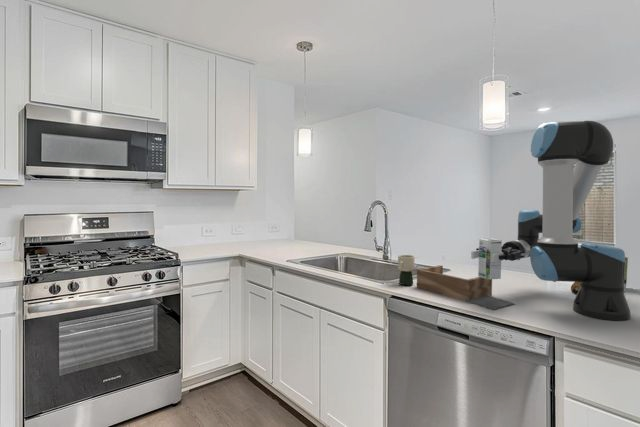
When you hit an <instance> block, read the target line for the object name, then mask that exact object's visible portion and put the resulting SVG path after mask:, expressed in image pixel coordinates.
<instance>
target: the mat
mask: <svg viewBox="0 0 640 427" xmlns="http://www.w3.org/2000/svg"><path fill="white" fill-rule="evenodd" d="M466 302H467V303H470V304H473V305H476V306H480V307H483V308H486V309H489V310H493V311H496V310H499V309H503V308H507V307H510V306H515V302H512V301H509V300H505V299H501V298H497V297H494V296H492V295H490V296H487V295H485V296H482V297H478V298H475V299H471V300H466V299H465V303H466Z"/></svg>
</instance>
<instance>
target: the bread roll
mask: <svg viewBox="0 0 640 427" xmlns="http://www.w3.org/2000/svg"><path fill="white" fill-rule="evenodd" d="M579 289H580V282H572V284H571V286H570V291H571V293H572V294H575V295H577V293H578V291H579Z"/></svg>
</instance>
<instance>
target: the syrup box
mask: <svg viewBox="0 0 640 427" xmlns="http://www.w3.org/2000/svg"><path fill="white" fill-rule="evenodd" d="M502 246H503V242H502V240H501V239H496V238H491V237H483V238H482V237H481V238H479V240H478V248H479V258H478V267H477V268H478V272H477V273H478V276H477V277H482V278H485V279H487V280H490V279H492V280H500V279H501V278H502V277H501V276H502V260H501V261H497V262H491V255H492V254H496V253H501V252H502Z"/></svg>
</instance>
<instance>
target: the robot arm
mask: <svg viewBox="0 0 640 427" xmlns="http://www.w3.org/2000/svg"><path fill="white" fill-rule="evenodd" d="M612 136H613V135H612V133H611V131H610V130H609V129H608V128H607V127H606V125H604V124H602V123H600V122H599V121H594V120H583V121H582V120H579V121H577V120H576V121H572V120H571V121H552V122H544V123H541V124H540V125H539V126H538V127H537V129H536V130H535V131H534V134H533V135H532V138H531V143H530V152H531V156H532V157H533V158H535V159H537V164H538V165H539V166H540V167H541V168H542V214H540V210H538V209H537V210H536V209H522V210H519V211H518V216H517V217H518V218H517V240H512V241H510V240H509V241H507V242H505V243H502V252H501V253H496V254H492V255H491V262H497V261H501V262H502V261H504V260H505V261H511V262H513V261H521V259H526V258H530V259H529V260H530V264H531V268H532V271H533V272H534V275H535V276H536V277H538V279H539V280H541V281H547V282H554V283H555V282H556V283H557V282H567V283H574V282H580V289H579V291H578V293H577V294H576V296H575V298H574V301H573V302H572V303H573V305H572V310H573V311H575V312H576V313H578V314H580V315H584V316H586V317H590V318H594V319H601V320H607V321H626V320H630V319H631V310H630V306H629V304H628V300H627V298H626V296H625V292H624V276H625V263H626V262H625V257H626V254H625V253H626V252H625V251H624V249H622V248H620V247H616V246H609V245H604V244H600V243H591V242H582V243H581V244H580V247H579V241H577V240H576V239H575V238H574V237H573V236H574V235H573V234H576V233H579V232H580V230H581V229H582V218H581V217H580V216H579V215H580V213H581V212H582V209H583V207H584V205H585V203H586V201H587V198H588V197H589V194H590V192H591V190H592V189H593V186H594V185H595V182H596V180H597V178H598V176H599V174H600V173H601V170H602V168H603V166H606V165H608V163H609V161H610V159H611V157H612V154H613V151H614V138H613V137H612ZM540 234H542V236H541V237H540ZM539 237H540V238H539ZM470 253H471V254H470V255H471V256H470V257H471V258H470V259H472V260H474V259H479V247H477V248H475V250H472V251H471V252H470Z"/></svg>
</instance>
